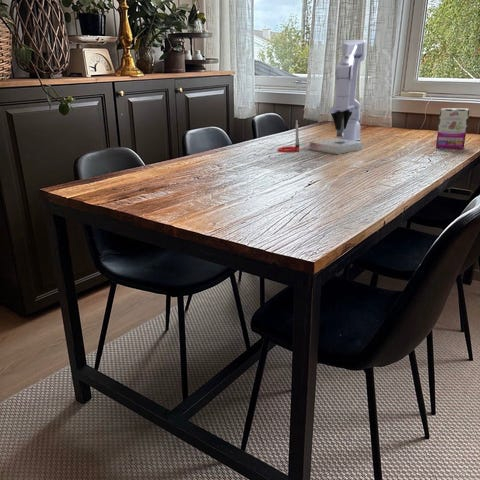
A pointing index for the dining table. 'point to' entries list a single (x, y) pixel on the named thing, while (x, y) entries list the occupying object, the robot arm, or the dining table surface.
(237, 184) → the dining table surface
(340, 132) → the pin
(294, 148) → the tow hook
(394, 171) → the dining table surface
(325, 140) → the bore block
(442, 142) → the candy bar box
